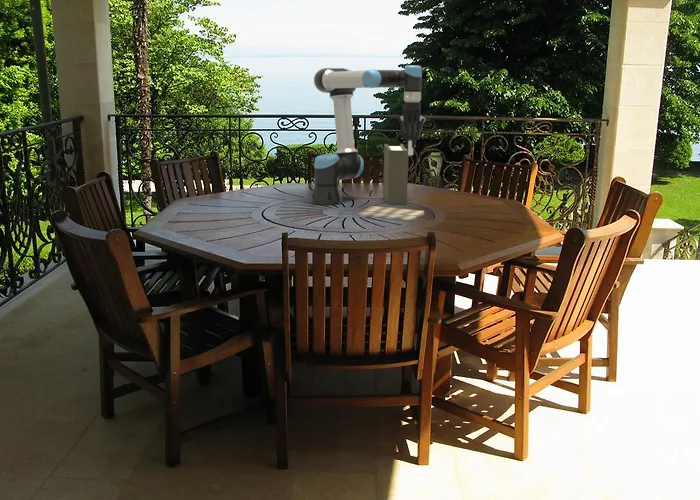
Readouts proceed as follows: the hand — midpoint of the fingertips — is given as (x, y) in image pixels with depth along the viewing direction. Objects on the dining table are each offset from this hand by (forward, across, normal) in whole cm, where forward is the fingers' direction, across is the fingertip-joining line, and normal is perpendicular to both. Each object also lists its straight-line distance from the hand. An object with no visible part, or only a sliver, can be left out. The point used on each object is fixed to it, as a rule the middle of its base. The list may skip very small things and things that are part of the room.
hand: (410, 155), depth 299 cm
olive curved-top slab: (+27, -15, +21) cm, 37 cm away
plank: (+26, -4, -9) cm, 28 cm away
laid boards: (+26, -4, -18) cm, 32 cm away
